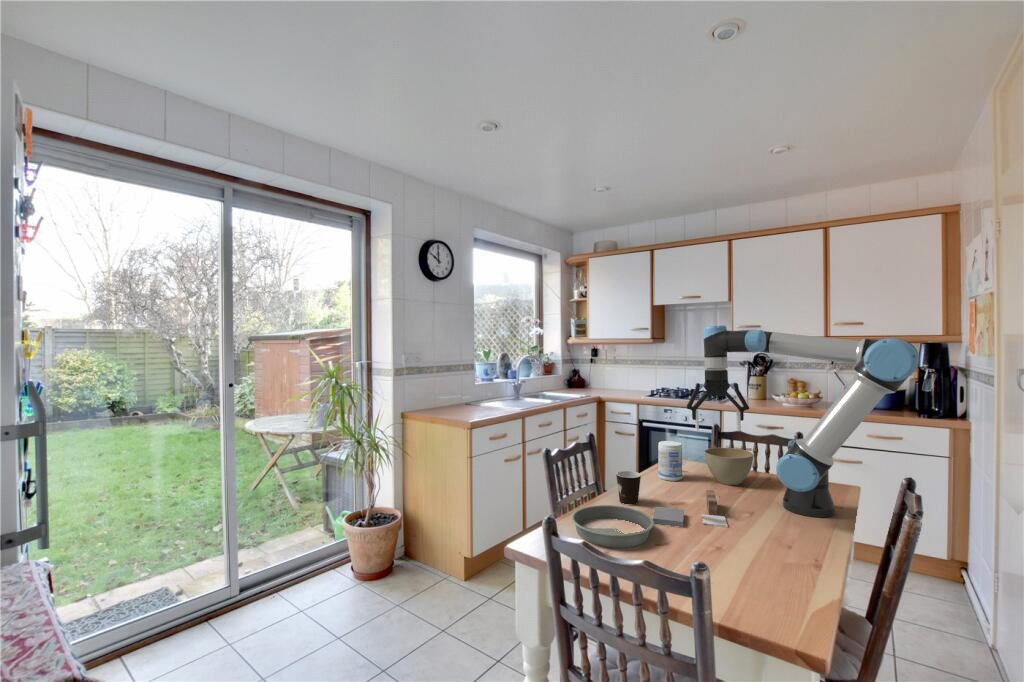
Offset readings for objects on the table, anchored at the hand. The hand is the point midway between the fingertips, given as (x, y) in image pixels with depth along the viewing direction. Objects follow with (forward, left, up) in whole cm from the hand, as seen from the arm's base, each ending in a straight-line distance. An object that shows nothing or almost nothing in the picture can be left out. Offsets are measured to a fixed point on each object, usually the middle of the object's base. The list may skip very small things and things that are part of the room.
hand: (717, 429), depth 169 cm
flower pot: (+12, -26, -26) cm, 39 cm away
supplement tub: (+30, -12, -26) cm, 41 cm away
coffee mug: (+21, +23, -26) cm, 41 cm away
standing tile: (+4, +22, -25) cm, 34 cm away
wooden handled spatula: (-5, +11, -26) cm, 29 cm away
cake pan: (+5, +48, -27) cm, 55 cm away
